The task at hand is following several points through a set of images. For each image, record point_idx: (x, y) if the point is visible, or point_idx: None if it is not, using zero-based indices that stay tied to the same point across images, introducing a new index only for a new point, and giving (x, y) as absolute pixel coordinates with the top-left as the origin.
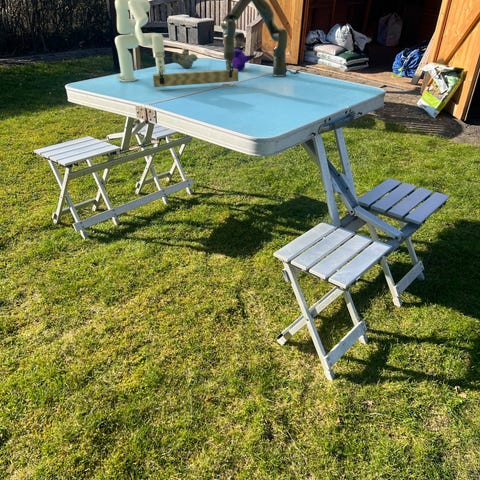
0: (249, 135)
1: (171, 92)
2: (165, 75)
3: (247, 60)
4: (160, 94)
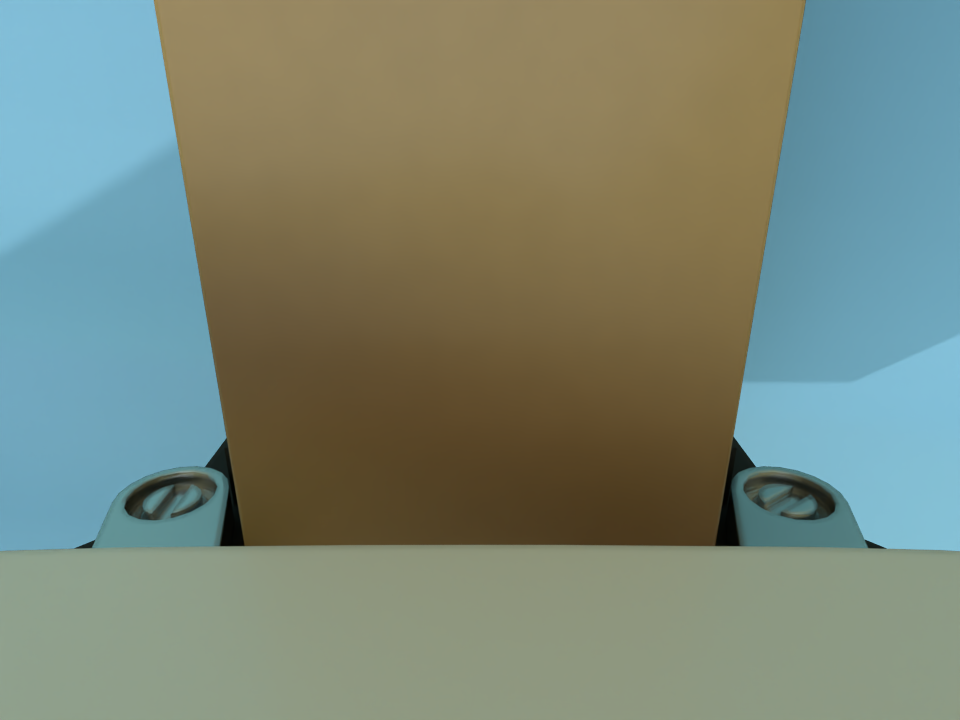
0: None
1: (882, 114)
2: (722, 397)
3: None
4: (949, 423)
